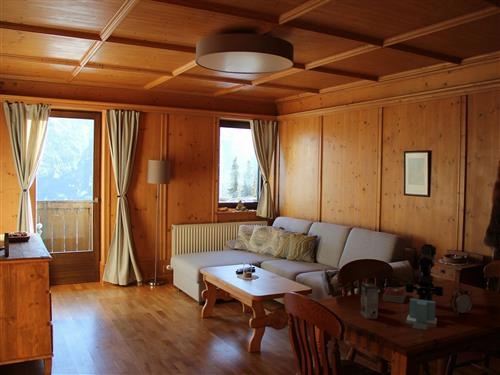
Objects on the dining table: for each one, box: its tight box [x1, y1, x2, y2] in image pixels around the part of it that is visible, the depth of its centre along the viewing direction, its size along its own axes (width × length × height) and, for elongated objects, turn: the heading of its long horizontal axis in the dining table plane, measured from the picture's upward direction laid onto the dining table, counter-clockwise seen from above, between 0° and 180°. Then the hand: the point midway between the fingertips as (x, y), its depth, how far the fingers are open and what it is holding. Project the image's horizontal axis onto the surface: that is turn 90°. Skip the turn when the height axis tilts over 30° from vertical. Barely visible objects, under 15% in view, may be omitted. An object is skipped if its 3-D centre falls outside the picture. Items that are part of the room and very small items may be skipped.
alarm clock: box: [450, 284, 473, 315], centre depth 249 cm, size 11×5×15 cm, turn 105°
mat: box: [405, 314, 438, 330], centre depth 232 cm, size 21×14×1 cm, turn 156°
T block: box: [408, 298, 436, 323], centre depth 236 cm, size 9×12×9 cm
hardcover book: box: [381, 286, 408, 304], centre depth 278 cm, size 12×21×4 cm, turn 156°
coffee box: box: [360, 282, 379, 319], centre depth 242 cm, size 9×6×16 cm
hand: (423, 303), depth 243 cm, fingers closed
